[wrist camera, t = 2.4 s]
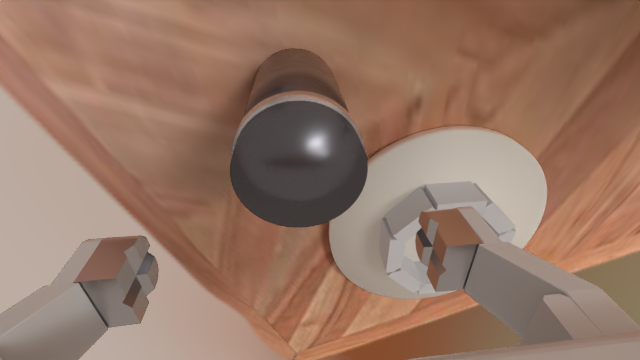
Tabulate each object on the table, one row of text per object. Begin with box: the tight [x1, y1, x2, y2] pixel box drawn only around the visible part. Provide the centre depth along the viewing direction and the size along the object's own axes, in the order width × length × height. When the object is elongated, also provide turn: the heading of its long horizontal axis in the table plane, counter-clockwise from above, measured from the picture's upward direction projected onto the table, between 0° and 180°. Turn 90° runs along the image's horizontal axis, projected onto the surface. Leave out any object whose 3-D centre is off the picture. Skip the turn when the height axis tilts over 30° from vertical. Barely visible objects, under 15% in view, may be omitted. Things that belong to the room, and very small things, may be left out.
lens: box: [230, 49, 368, 227], centre depth 16 cm, size 5×5×10 cm
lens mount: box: [329, 126, 547, 299], centre depth 26 cm, size 18×18×4 cm
